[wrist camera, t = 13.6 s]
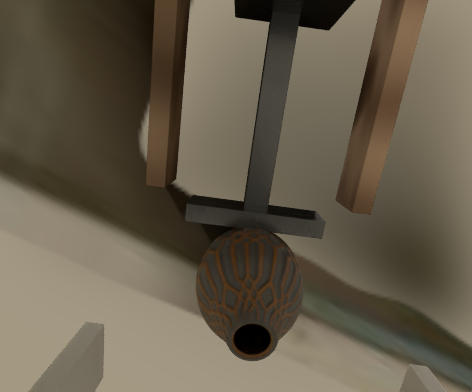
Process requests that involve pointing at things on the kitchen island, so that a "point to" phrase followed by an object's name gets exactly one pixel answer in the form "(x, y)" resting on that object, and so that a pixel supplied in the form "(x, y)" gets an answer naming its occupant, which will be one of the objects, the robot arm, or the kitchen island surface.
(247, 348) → the vase
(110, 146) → the kitchen island surface
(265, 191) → the lopsided grey dumbbell
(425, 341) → the kitchen island surface
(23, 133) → the kitchen island surface
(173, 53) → the channel
